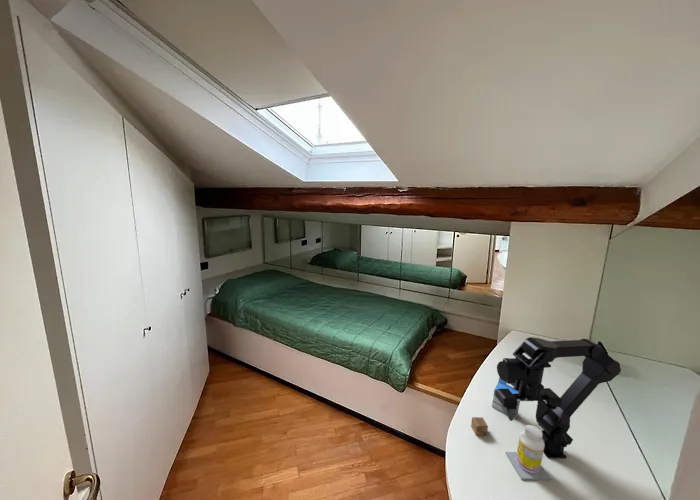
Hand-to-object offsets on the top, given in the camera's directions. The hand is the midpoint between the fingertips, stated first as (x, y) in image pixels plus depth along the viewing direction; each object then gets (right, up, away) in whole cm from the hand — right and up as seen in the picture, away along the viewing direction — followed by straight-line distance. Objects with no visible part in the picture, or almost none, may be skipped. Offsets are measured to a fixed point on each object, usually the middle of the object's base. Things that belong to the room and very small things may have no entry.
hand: (523, 419), depth 95 cm
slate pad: (0, -14, -2) cm, 14 cm away
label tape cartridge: (+5, -9, +21) cm, 24 cm away
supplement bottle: (0, -13, -2) cm, 14 cm away
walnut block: (-10, -11, +11) cm, 18 cm away
